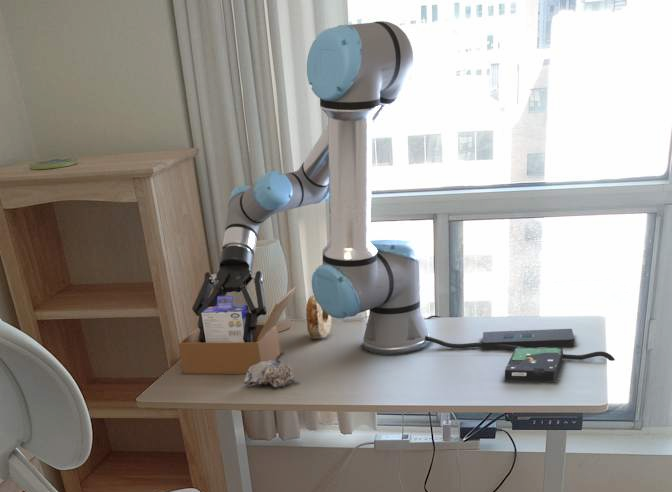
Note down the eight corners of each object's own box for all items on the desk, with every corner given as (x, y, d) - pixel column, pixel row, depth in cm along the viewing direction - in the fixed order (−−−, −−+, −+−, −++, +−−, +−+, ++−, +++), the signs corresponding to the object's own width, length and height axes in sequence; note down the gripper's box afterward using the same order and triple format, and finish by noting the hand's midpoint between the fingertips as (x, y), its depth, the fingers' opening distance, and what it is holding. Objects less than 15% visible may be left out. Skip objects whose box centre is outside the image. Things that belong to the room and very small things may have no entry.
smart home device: (483, 331, 214) (572, 327, 211) (483, 338, 215) (571, 335, 212) (482, 342, 207) (574, 338, 204) (482, 349, 208) (573, 346, 205)
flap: (276, 320, 214) (277, 321, 214) (257, 339, 203) (258, 340, 203) (294, 286, 209) (296, 287, 209) (276, 303, 198) (277, 304, 198)
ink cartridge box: (256, 357, 216) (247, 293, 208) (249, 364, 212) (240, 300, 204) (215, 357, 218) (206, 295, 210) (208, 365, 214) (198, 302, 206)
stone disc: (320, 344, 222) (316, 301, 217) (306, 343, 223) (302, 301, 218) (335, 330, 230) (331, 289, 225) (321, 330, 231) (317, 289, 226)
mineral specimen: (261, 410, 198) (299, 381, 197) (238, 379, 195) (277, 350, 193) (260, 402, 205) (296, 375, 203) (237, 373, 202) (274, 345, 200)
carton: (280, 353, 218) (277, 324, 215) (261, 373, 207) (257, 342, 203) (205, 353, 223) (201, 324, 219) (183, 373, 212) (178, 343, 208)
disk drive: (556, 384, 187) (562, 359, 198) (556, 370, 185) (563, 346, 197) (504, 383, 190) (514, 358, 201) (504, 369, 188) (514, 345, 200)
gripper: (289, 261, 215) (276, 349, 210) (198, 263, 220) (184, 350, 216) (279, 242, 207) (266, 333, 203) (186, 245, 213) (171, 334, 209)
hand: (224, 342), depth 210 cm, fingers closed on ink cartridge box, 10 cm apart
